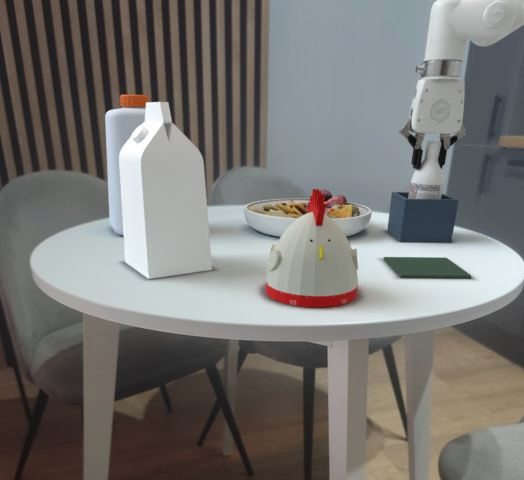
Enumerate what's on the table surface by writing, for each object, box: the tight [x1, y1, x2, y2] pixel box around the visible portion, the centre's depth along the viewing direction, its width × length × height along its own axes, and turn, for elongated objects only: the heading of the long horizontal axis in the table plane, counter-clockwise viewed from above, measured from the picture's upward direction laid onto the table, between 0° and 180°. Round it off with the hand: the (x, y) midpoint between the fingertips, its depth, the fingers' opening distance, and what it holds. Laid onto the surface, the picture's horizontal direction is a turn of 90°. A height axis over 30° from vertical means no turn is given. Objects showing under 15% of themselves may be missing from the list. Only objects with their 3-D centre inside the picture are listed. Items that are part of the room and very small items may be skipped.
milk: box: [119, 101, 213, 280], centre depth 83 cm, size 12×12×26 cm
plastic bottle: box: [104, 94, 150, 237], centre depth 110 cm, size 15×15×28 cm
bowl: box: [243, 188, 372, 238], centre depth 118 cm, size 30×30×8 cm
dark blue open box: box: [386, 191, 460, 243], centre depth 112 cm, size 11×11×9 cm
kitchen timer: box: [265, 188, 359, 308], centre depth 73 cm, size 14×14×15 cm
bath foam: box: [408, 140, 445, 199], centre depth 109 cm, size 7×7×20 cm
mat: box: [383, 256, 472, 279], centre depth 89 cm, size 12×12×1 cm
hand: (427, 167), depth 107 cm, fingers closed on bath foam, 4 cm apart
